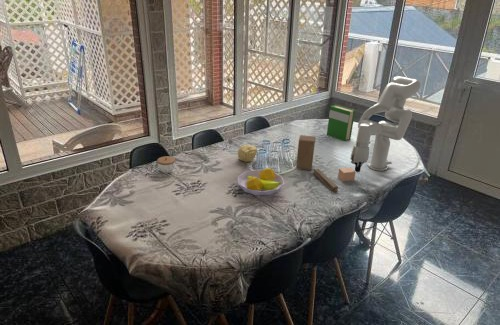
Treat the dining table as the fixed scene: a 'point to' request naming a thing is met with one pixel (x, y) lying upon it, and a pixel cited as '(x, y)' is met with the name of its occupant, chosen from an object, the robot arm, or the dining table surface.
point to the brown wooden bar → (326, 180)
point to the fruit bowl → (260, 182)
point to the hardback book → (340, 122)
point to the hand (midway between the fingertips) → (357, 171)
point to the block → (346, 174)
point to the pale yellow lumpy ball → (247, 153)
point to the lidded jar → (166, 164)
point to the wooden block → (305, 152)
